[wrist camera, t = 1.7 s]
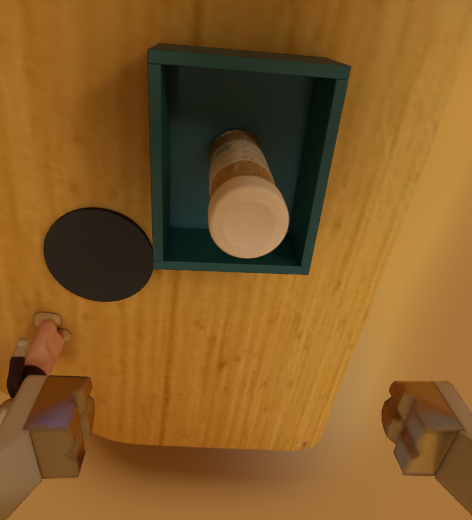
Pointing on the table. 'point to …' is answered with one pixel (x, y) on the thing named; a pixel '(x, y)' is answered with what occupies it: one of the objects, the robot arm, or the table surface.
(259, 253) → the sprinkles bottle
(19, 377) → the grandmother figurine
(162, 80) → the basin
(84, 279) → the pad
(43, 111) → the table surface
